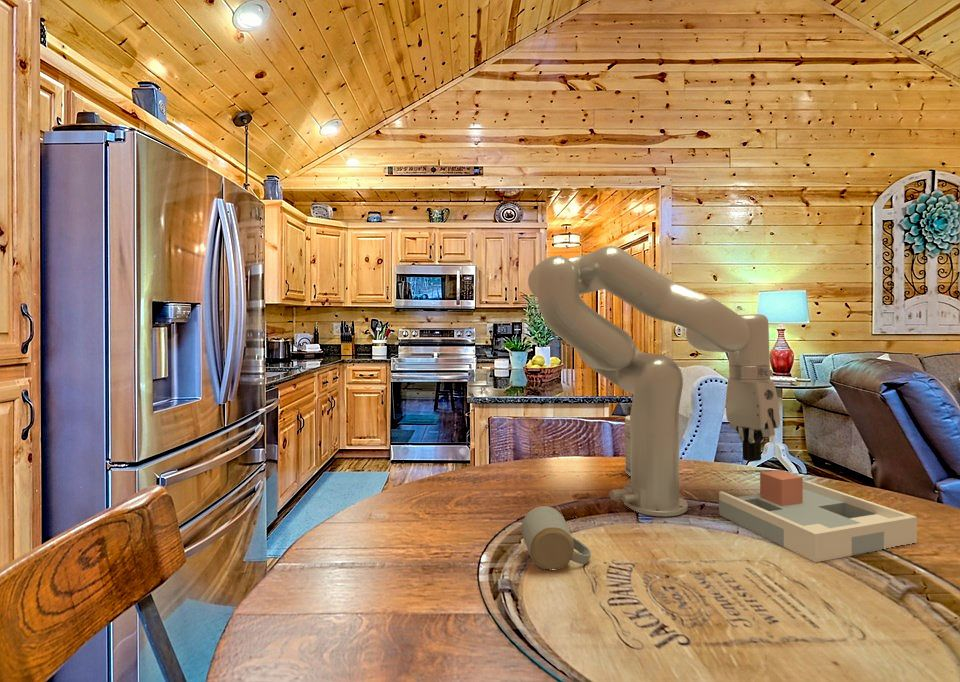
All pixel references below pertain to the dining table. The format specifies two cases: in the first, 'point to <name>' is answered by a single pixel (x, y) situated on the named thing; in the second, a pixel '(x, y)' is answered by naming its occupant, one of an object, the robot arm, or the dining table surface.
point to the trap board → (822, 523)
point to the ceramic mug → (551, 539)
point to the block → (781, 487)
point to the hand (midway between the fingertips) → (752, 459)
